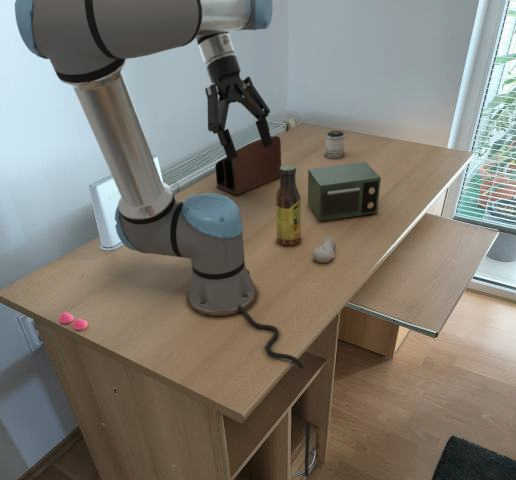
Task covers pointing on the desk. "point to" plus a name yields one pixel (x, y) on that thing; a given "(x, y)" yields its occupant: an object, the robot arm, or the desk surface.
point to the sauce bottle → (288, 207)
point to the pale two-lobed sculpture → (325, 251)
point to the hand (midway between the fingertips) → (251, 152)
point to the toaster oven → (343, 191)
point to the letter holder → (250, 167)
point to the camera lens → (335, 144)
